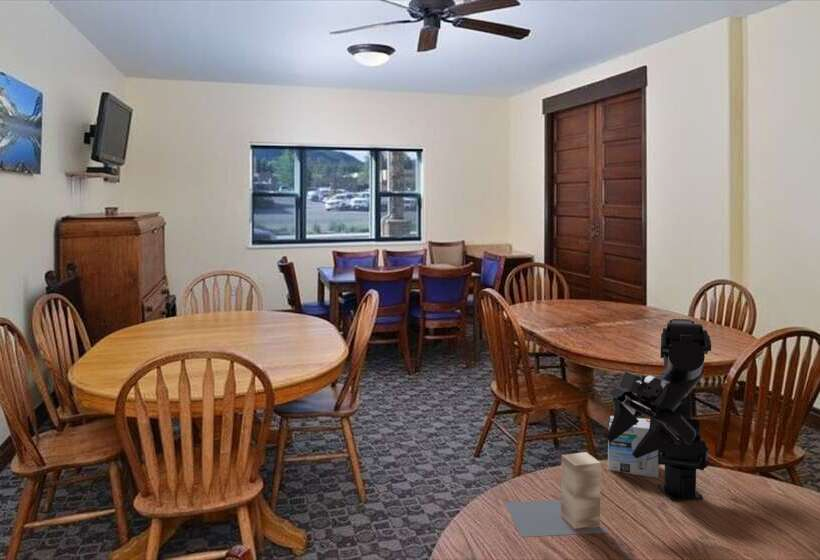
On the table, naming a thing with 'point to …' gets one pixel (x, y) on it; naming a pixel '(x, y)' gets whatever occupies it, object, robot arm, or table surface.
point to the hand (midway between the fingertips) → (620, 448)
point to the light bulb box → (625, 446)
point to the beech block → (580, 490)
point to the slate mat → (543, 519)
